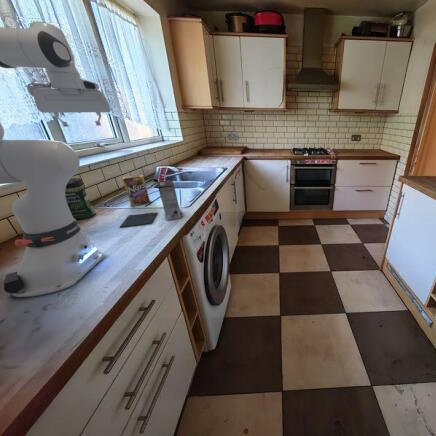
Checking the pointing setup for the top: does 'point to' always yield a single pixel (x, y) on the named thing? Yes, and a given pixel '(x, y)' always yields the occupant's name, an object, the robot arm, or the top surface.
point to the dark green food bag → (78, 199)
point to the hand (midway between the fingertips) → (83, 126)
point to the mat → (139, 219)
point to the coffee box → (169, 199)
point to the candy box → (136, 190)
